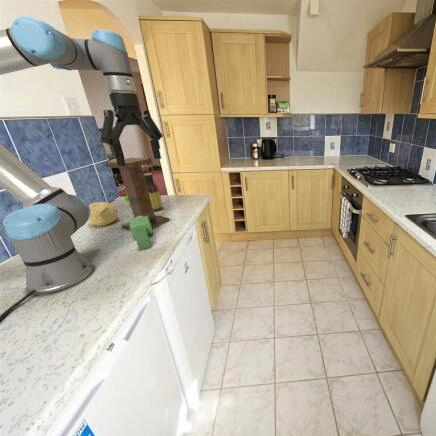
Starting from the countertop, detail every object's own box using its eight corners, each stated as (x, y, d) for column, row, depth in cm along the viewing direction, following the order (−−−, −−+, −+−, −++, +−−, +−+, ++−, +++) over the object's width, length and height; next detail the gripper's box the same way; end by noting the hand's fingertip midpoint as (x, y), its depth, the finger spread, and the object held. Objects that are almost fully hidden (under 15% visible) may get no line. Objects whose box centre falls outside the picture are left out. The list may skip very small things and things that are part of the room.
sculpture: (83, 227, 113) (75, 206, 109) (106, 217, 124) (98, 197, 120) (104, 228, 111) (96, 207, 107) (125, 218, 122) (118, 198, 118)
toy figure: (135, 251, 92) (130, 241, 90) (133, 226, 109) (129, 216, 107) (155, 245, 95) (150, 234, 93) (150, 221, 112) (147, 212, 110)
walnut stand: (144, 232, 107) (123, 164, 95) (122, 227, 112) (100, 162, 100) (169, 220, 119) (154, 158, 107) (149, 216, 124) (132, 157, 112)
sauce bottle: (152, 208, 135) (142, 173, 127) (164, 206, 137) (155, 172, 129) (149, 212, 129) (139, 175, 122) (162, 210, 131) (153, 174, 123)
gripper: (86, 89, 63) (111, 169, 72) (164, 94, 84) (177, 156, 93) (69, 90, 66) (95, 168, 74) (149, 95, 87) (163, 155, 96)
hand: (141, 162), depth 84 cm, fingers open, 13 cm apart
